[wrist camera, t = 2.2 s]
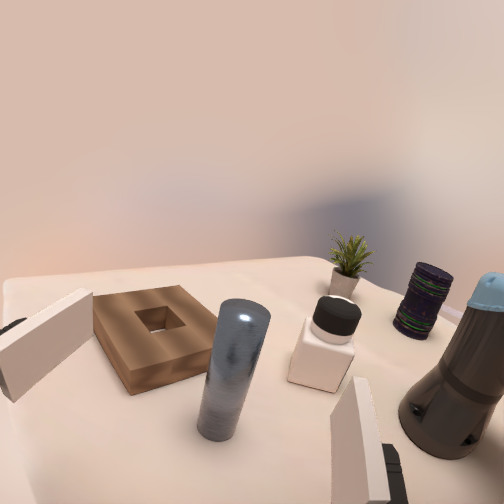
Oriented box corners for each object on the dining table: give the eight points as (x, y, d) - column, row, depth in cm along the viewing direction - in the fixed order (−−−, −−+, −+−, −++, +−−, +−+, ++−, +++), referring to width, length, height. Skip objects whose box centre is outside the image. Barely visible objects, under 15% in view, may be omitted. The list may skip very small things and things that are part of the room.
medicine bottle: (335, 394, 36) (370, 321, 33) (286, 381, 37) (315, 306, 34) (335, 365, 43) (364, 298, 39) (292, 353, 44) (316, 285, 41)
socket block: (176, 305, 50) (179, 285, 49) (236, 360, 40) (242, 337, 38) (88, 320, 38) (87, 296, 37) (130, 395, 28) (130, 370, 27)
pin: (218, 409, 30) (247, 295, 26) (242, 431, 27) (280, 318, 23) (189, 421, 27) (210, 303, 23) (212, 447, 25) (244, 330, 20)
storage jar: (427, 328, 62) (451, 273, 58) (428, 345, 54) (457, 283, 50) (393, 314, 67) (415, 258, 62) (390, 330, 58) (416, 267, 54)
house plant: (313, 276, 80) (330, 219, 76) (360, 291, 78) (379, 234, 73) (307, 295, 67) (328, 227, 62) (363, 312, 64) (388, 246, 60)
